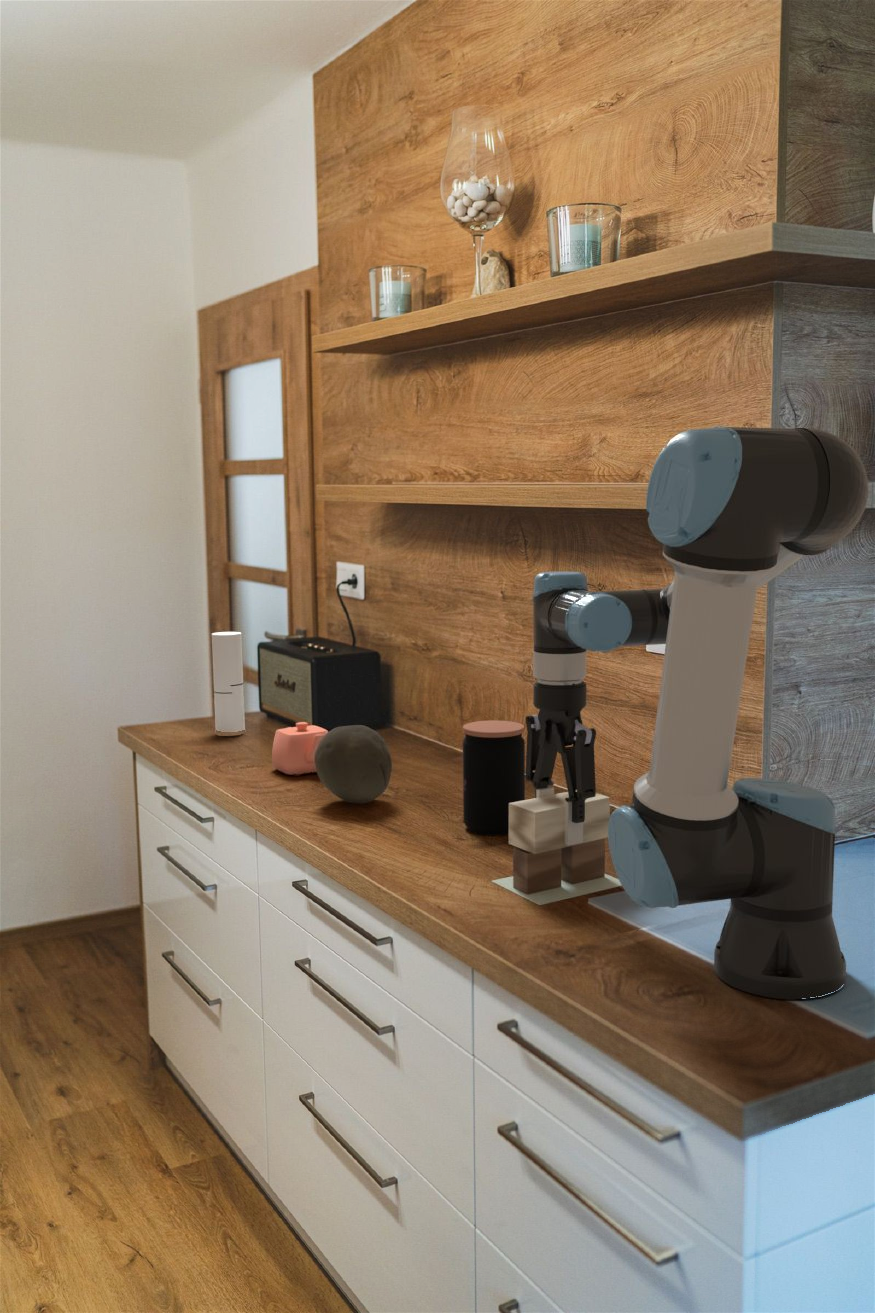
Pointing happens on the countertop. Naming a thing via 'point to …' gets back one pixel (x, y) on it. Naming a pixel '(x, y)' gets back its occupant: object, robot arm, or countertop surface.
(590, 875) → the post
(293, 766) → the teapot
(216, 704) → the cylindrical container
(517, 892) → the board
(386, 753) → the dark grey ball
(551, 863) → the post
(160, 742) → the countertop surface
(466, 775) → the coffee jar
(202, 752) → the countertop surface
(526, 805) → the lintel
